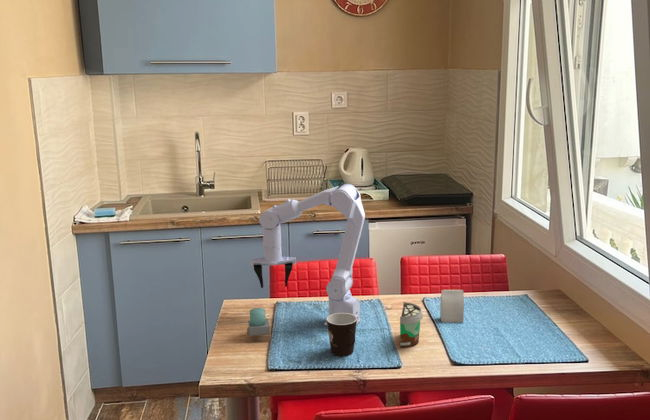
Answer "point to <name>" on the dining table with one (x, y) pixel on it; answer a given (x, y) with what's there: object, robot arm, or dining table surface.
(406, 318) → the food container
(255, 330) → the top block
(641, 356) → the dining table surface
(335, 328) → the coffee mug
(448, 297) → the grey rectangular block
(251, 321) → the green rounded cylinder
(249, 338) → the base block
